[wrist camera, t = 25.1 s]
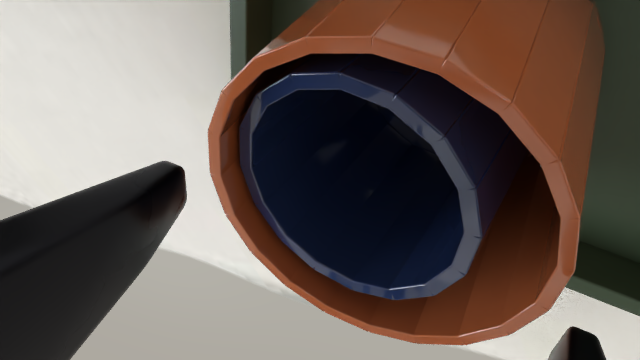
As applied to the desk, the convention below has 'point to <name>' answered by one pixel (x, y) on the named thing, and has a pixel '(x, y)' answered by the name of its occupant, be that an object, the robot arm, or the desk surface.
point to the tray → (607, 155)
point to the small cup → (377, 171)
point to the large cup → (491, 90)
